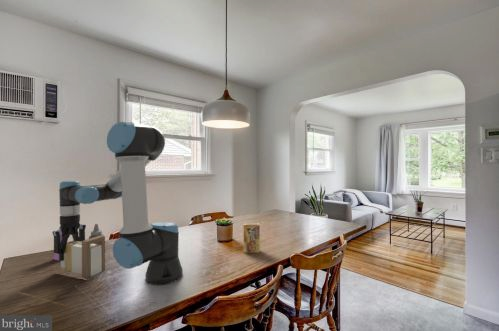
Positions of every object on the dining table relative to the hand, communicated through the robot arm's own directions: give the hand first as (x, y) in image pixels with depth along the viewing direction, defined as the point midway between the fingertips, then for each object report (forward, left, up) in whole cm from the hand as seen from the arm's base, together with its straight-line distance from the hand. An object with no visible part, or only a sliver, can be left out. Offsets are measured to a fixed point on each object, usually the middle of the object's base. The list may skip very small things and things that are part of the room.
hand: (70, 264), depth 111 cm
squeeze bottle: (-1, -12, -2) cm, 13 cm away
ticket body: (-11, 0, -2) cm, 11 cm away
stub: (-1, 0, -2) cm, 2 cm away
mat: (-7, 0, -2) cm, 7 cm away
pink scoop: (+17, -9, -3) cm, 19 cm away
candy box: (-72, -49, -2) cm, 87 cm away
